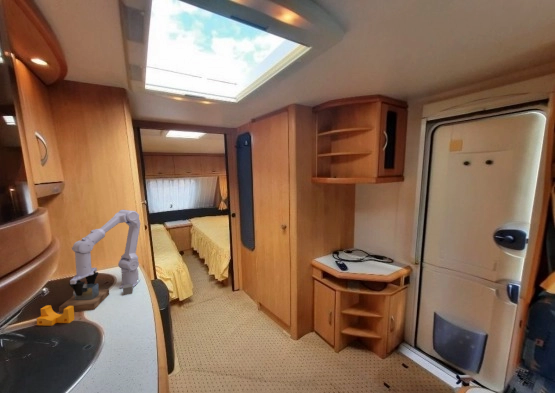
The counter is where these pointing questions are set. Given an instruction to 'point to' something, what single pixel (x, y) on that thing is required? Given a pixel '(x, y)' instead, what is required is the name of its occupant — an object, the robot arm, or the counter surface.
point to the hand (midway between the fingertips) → (85, 291)
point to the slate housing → (88, 292)
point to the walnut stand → (85, 302)
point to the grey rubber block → (127, 289)
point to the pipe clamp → (55, 316)
